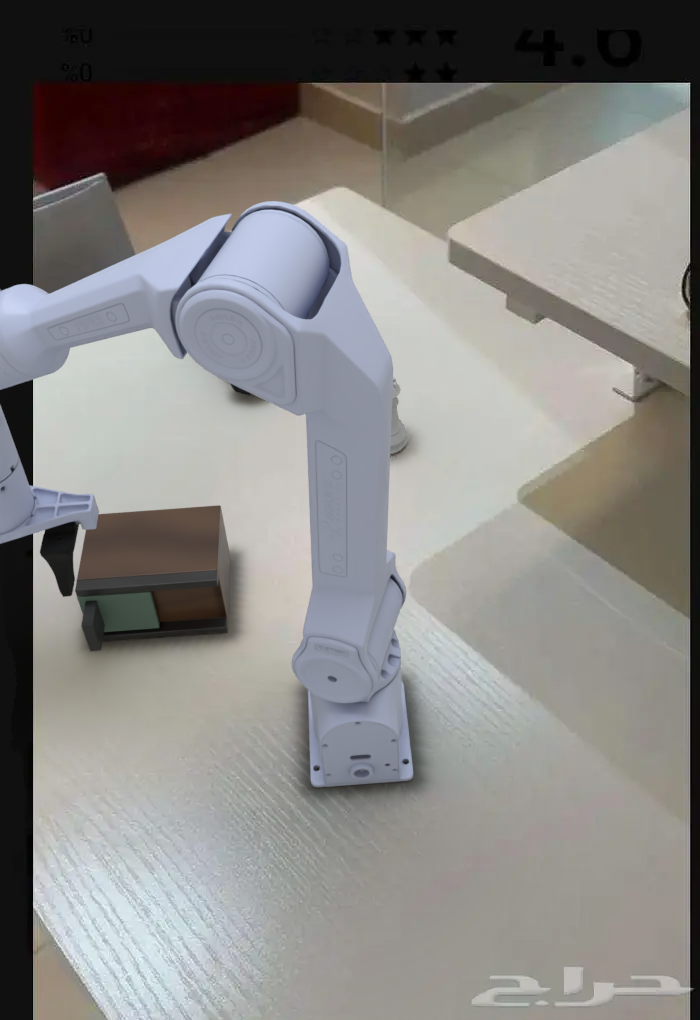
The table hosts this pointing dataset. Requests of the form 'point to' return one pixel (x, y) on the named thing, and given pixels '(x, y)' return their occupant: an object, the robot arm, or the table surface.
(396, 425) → the rook chess piece
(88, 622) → the closet door
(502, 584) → the table surface
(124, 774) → the table surface
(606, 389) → the table surface
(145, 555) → the closet
